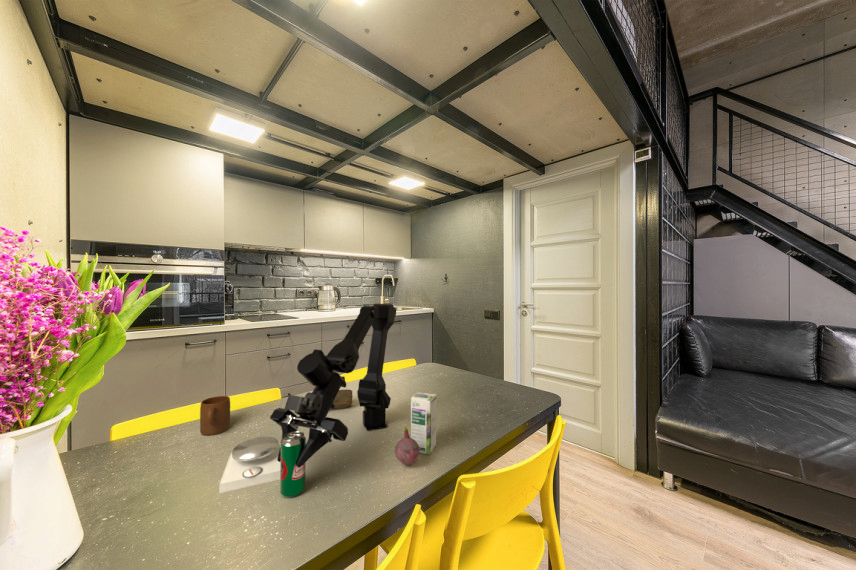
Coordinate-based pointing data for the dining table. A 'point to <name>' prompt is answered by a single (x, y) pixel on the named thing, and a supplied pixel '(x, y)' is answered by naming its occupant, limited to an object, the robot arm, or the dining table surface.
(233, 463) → the kitchen scale
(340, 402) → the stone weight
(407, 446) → the vegetable
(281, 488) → the soda can
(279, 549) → the dining table surface
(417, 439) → the syrup box
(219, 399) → the mug
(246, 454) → the scale pan
